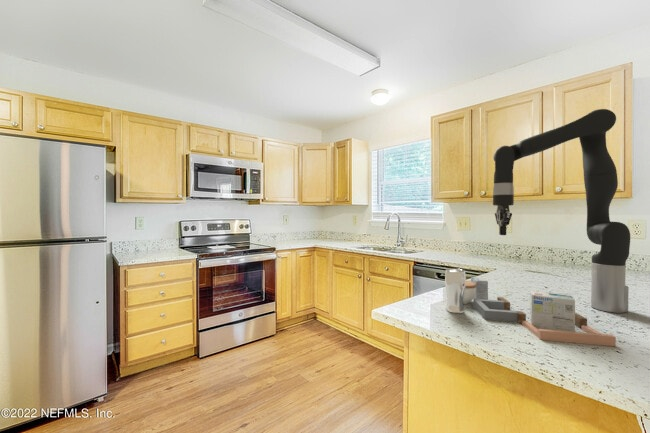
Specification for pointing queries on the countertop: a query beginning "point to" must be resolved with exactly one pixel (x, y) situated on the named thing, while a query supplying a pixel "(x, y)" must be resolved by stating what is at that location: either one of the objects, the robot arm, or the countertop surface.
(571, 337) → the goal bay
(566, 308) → the light bulb box
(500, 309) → the frame
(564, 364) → the countertop surface
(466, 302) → the lidded jar
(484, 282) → the medicine box
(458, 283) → the silver metal can
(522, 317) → the open corridor
